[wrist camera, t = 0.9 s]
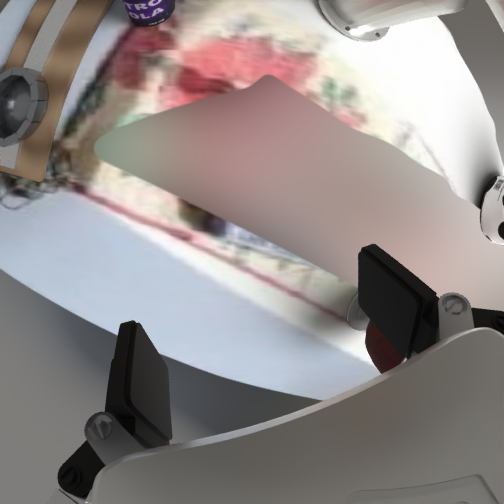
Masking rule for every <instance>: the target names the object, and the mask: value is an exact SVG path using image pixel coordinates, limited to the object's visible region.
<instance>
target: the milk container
mask: <svg viewBox="0 0 504 504" xmlns="http://www.w3.org/2000/svg"><path fill="white" fill-rule="evenodd" d="M480 223H481V229H482V232H483V233H484V235H485V236H486V237H487V238H488V239H489V240H491V241H492V242H494V243H496V244H500V245H504V176H497V177H495V178H494V179H493V180H492V181H491V182H490V184H489V186H488V187H487V189H486V191H485V194H484V197H483V200H482V205H481V211H480Z"/></svg>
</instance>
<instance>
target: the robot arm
mask: <svg viewBox="0 0 504 504" xmlns="http://www.w3.org/2000/svg"><path fill="white" fill-rule="evenodd" d="M485 1H486V2H487V3H488V5H489V7H490V8H491V10H492V12H493V13H494V15H495V17H496V19H497V21H498V22H499V24H500V26H501V28H502V30H503V32H504V0H485ZM468 2H469V0H318V3H319V6H320V8H321V11H322V12H323V14H324V15H325V17H326V18H327V20H328V21H329V22H330V23H331V24H332V25H333V26H334V27H335V28H336V29H337V30H339V31H340V32H341V33H343V34H344V35H346V36H348V37H350V38H352V39H355V40H357V41H363V42H371V41H376V40H379V39H381V38H382V37H384V36H385V35H386V34H387V32H388V30H389V27H390V26H393V25H397V24H401V23H405V22H409V21H413V20H418V19H422V18H427V17H432V16H438V15H443V14H449V13H455V12H458V11H460V10H462V9H463V8H465V7H466V5H467V4H468ZM436 294H437V293H436V292H434V291H433V290H432V289H431V288H429V286H427V285H426V284H425V283H424V282H422V281H421V280H420V279H419V278H418V277H416V276H415V275H414V274H413V273H412V272H410V271H409V270H408V269H407V268H405V267H404V266H403V265H402V264H400V263H399V262H398V261H397V260H395V259H394V258H393V257H391V256H390V255H389V254H388V253H386V252H385V251H384V250H382V249H381V248H380V247H378V246H377V245H376V244H371V245H368V246H365V247H363V248H362V249H361V252H359V254H358V304H359V306H360V308H361V309H362V310H363V311H364V313H365V314H366V315H367V316H368V317H369V319H370V320H371V321H372V322H373V323H374V324H375V326H376V327H377V328H378V329H379V330H380V332H381V333H382V334H383V335H384V336H385V338H386V339H387V340H388V341H389V342H390V344H391V345H392V346H393V347H394V348H395V350H396V351H397V352H398V353H399V355H400V356H401V357H406V359H407V361H405V362H403V363H402V364H400V365H398V366H396V367H394V368H392V369H391V370H389V371H387V372H385V373H383V374H381V375H379V376H377V377H375V378H373V379H371V380H369V381H367V382H365V383H363V384H361V385H359V386H357V387H355V388H352V389H350V390H348V391H346V392H344V393H341V394H339V395H337V396H335V397H332V398H330V399H327V400H325V401H323V402H320V403H318V404H315V405H313V406H310V407H308V408H305V409H302V410H299V411H297V412H294V413H291V414H288V415H286V416H282V417H279V418H276V419H273V420H270V421H267V422H264V423H260V424H258V425H254V426H250V427H247V428H243V429H240V430H236V431H232V432H228V433H224V434H220V435H216V436H211V437H207V438H202V439H198V440H193V441H188V442H183V443H178V444H172V445H170V444H169V440H171V439H172V425H171V414H170V413H171V412H170V398H169V376H168V375H169V374H168V368H167V365H166V363H165V362H164V360H163V359H162V357H161V356H160V354H159V353H158V351H157V350H156V348H155V347H154V345H153V343H152V342H151V340H150V339H149V337H148V335H147V334H146V332H145V330H144V329H143V327H142V325H141V324H140V323H136V322H135V321H134V320H132V321H128V322H125V323H121V324H120V327H119V332H118V338H117V343H116V349H115V355H114V359H113V360H112V362H111V368H110V375H109V381H108V389H107V397H106V405H105V412H98V413H95V414H94V415H92V416H91V417H90V418H89V419H88V421H87V423H86V425H85V429H84V433H85V437H86V439H87V440H86V441H85V442H84V444H82V445H81V447H80V448H78V449H77V450H76V452H75V453H74V454H73V455H72V456H71V457H70V458H69V459H68V460H67V461H66V462H65V463H64V464H63V465H62V466H61V467H60V469H59V472H58V483H59V485H60V487H59V489H58V488H55V490H54V491H53V493H52V496H51V498H50V500H49V502H48V504H504V312H503V311H497V310H496V311H495V310H487V309H478V308H471V306H470V303H469V301H468V300H467V299H466V298H465V297H464V296H463V295H460V294H458V293H447V294H444V295H442V296H441V297H440V299H439V298H438V297H437V296H436Z"/></svg>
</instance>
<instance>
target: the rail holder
mask: <svg viewBox="0 0 504 504" xmlns="http://www.w3.org/2000/svg"><path fill="white" fill-rule="evenodd" d="M79 2H80V0H56V2H55V4H54V5H53V7H52V9H51V10H50V12H49V14H48V16H47V17H46V19H45V21H44V23H43V25H42V27H41V29H40V31H39V33H38V35H37V37H36V39H35V41H34V43H33V45H32V47H31V50H30V52H29V54H28V56H27V59H26V61H25V64H24V66H23V67H11V68H10V69H8V70H6V71H5V72H3V73H2V74H0V165H1V166H4V167H8V168H12V169H16V168H17V166H18V160H19V155H20V150H21V146H22V141H24V140H26V139H28V138H29V137H30V136H31V135H32V134H33V133H34V132H35V131H36V130H37V129H38V127H39V126H40V124H41V122H42V121H43V118H44V116H45V114H46V111H47V107H48V100H49V91H48V86H47V83H46V80H45V79H44V77H43V73H44V71H45V68H46V66H47V64H48V61H49V59H50V57H51V54H52V52H53V50H54V48H55V46H56V44H57V42H58V40H59V37H60V36H61V34H62V32H63V30H64V28H65V26H66V24H67V22H68V20H69V19H70V17H71V15H72V13H73V12H74V10H75V8H76V7H77V5H78V3H79Z"/></svg>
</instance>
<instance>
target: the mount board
mask: <svg viewBox="0 0 504 504" xmlns="http://www.w3.org/2000/svg"><path fill="white" fill-rule="evenodd" d="M113 1H114V0H80V2H79V3H78V5H77V7H76V8H75V10H74V12H73V13H72V15H71V17H70V19H69V20H68V22H67V24H66V26H65V28H64V30H63V32H62V34H61V36H60V37H59V40H58V42H57V44H56V46H55V48H54V50H53V52H52V54H51V57H50V59H49V61H48V64H47V66H46V68H45V71H44V73H43V77H44V79H45V80H46V83H47V86H48V91H49V100H48V107H47V111H46V114H45V116H44V118H43V121H42V122H41V124H40V126H39V127H38V129H37V130H36V131H35V132H34V133H33V134H32V135H31V136H30V137H29V138H28V139H26V140H24V141H22V146H21V150H20V155H19V160H18V166H17V168H16V169H12V168H8V167H4V166H1V165H0V171H3V172H6V173H9V174H13V175H16V176H20V177H23V178H27V179H30V180H34V181H37V182H41V181H42V180H44V177H45V172H46V167H47V163H48V158H49V154H50V150H51V146H52V142H53V138H54V134H55V131H56V127H57V124H58V121H59V117H60V114H61V111H62V108H63V105H64V102H65V100H66V97H67V94H68V91H69V89H70V86H71V83H72V81H73V78H74V76H75V74H76V71H77V69H78V67H79V64H80V62H81V60H82V58H83V55H84V53H85V51H86V49H87V47H88V45H89V43H90V41H91V39H92V37H93V35H94V33H95V31H96V30H97V28H98V26H99V24H100V22H101V21H102V19H103V17H104V15H105V14H106V12H107V10H108V9H109V7H110V6H111V4H112V2H113ZM55 2H56V0H38V1H37V2H36V4H35V6H34V7H33V9H32V11H31V13H30V15H29V16H28V18H27V20H26V22H25V24H24V26H23V28H22V30H21V32H20V34H19V36H18V38H17V40H16V42H15V45H14V47H13V49H12V51H11V54H10V56H9V59H8V61H7V64H6V66H5V69H4V71H3V72H5V71H6V70H8V69H10V68H11V67H23V66H24V64H25V61H26V59H27V56H28V54H29V52H30V50H31V47H32V45H33V43H34V41H35V39H36V37H37V35H38V33H39V31H40V29H41V27H42V25H43V23H44V21H45V19H46V17H47V16H48V14H49V12H50V10H51V9H52V7H53V5H54V4H55Z"/></svg>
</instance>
